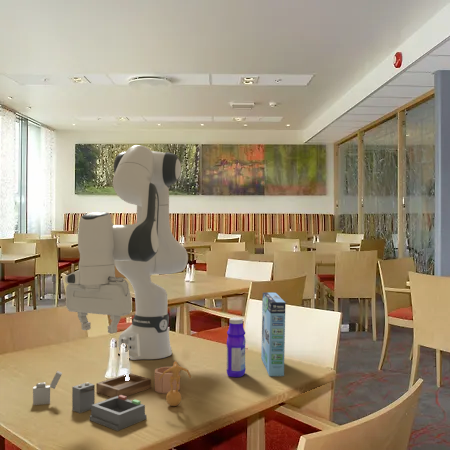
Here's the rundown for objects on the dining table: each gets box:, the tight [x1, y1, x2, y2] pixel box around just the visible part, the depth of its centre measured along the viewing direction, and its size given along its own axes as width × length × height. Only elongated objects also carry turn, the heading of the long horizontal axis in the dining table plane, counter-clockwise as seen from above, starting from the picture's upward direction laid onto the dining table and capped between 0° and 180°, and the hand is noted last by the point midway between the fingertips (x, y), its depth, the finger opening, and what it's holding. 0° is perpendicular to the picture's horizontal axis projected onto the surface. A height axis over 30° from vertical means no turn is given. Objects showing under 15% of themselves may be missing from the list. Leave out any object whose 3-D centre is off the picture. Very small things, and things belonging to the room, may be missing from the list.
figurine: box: [159, 360, 192, 407], centre depth 134 cm, size 8×6×12 cm
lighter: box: [32, 370, 63, 406], centre depth 137 cm, size 7×2×8 cm, turn 105°
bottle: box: [226, 316, 247, 378], centre depth 162 cm, size 7×6×17 cm
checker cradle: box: [89, 395, 147, 432], centre depth 126 cm, size 10×9×4 cm
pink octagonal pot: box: [154, 366, 181, 395], centre depth 148 cm, size 7×7×5 cm
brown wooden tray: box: [95, 372, 152, 398], centre depth 147 cm, size 9×12×2 cm
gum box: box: [260, 292, 287, 378], centre depth 169 cm, size 20×5×23 cm, turn 3°
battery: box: [71, 381, 96, 414], centre depth 133 cm, size 3×4×6 cm, turn 142°
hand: (99, 331), depth 132 cm, fingers open, 8 cm apart
